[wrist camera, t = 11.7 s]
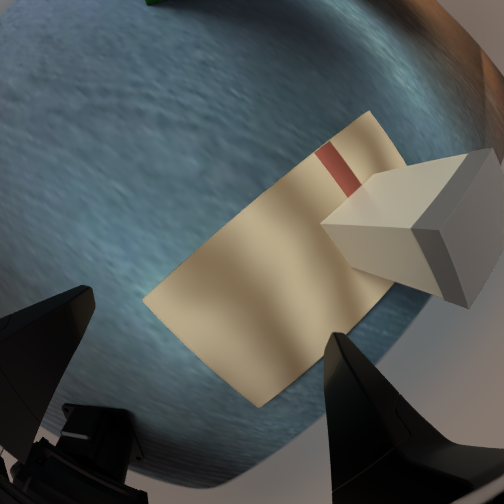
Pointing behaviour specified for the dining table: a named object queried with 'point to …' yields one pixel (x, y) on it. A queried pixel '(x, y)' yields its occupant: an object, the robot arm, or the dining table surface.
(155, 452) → the dining table surface
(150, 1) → the milk carton
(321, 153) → the board
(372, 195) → the white slab
